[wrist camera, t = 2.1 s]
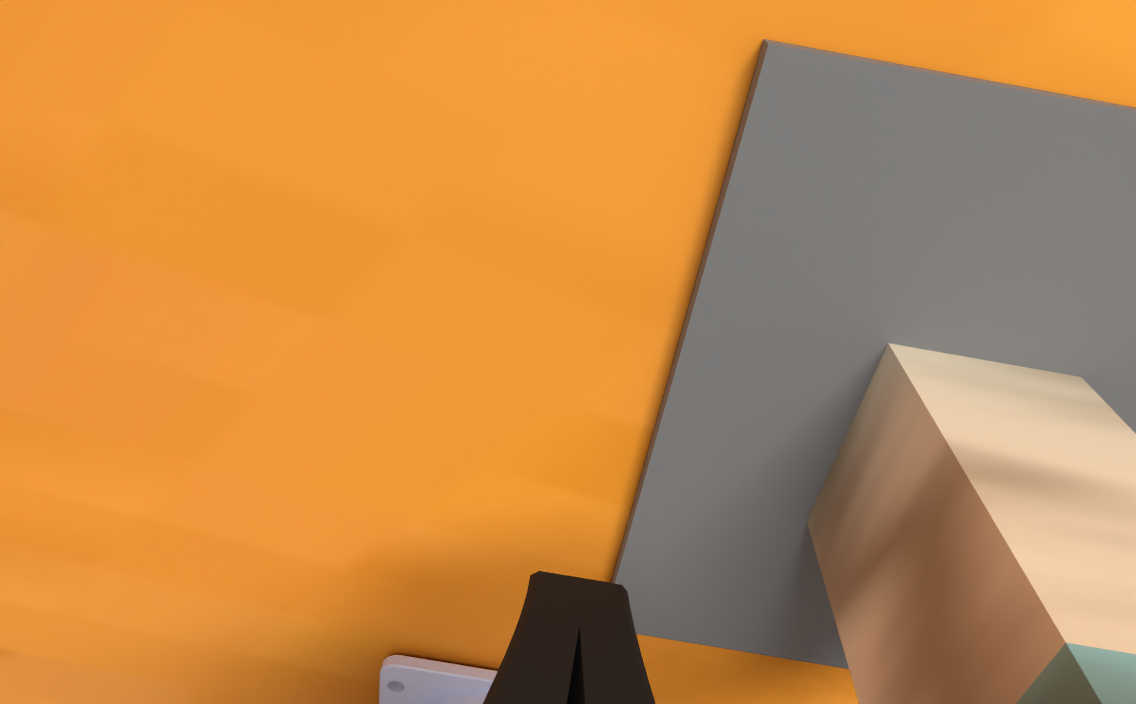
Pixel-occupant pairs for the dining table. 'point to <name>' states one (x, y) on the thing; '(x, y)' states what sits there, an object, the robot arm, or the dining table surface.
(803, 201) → the rubber mat
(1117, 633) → the maple block
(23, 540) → the dining table surface
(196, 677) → the dining table surface
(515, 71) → the dining table surface
